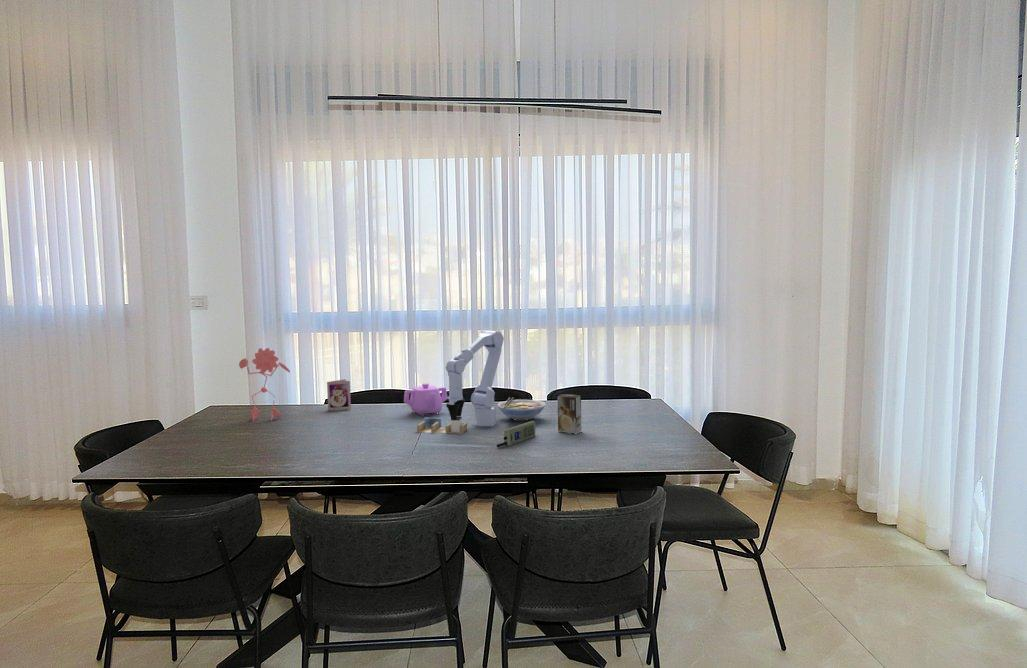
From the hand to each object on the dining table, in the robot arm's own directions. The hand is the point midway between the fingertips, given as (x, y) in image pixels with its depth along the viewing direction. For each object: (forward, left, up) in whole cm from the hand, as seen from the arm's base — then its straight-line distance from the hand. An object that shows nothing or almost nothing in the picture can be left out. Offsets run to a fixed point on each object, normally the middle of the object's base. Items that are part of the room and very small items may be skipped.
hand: (456, 418), depth 280 cm
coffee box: (-49, -9, -7) cm, 50 cm away
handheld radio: (-28, +11, -7) cm, 31 cm away
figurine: (+100, -18, -7) cm, 102 cm away
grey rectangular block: (0, 0, -6) cm, 6 cm away
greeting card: (+75, -44, -7) cm, 88 cm away
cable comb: (+6, -2, -7) cm, 9 cm away
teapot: (+26, -39, -7) cm, 48 cm away
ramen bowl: (-24, -31, -7) cm, 40 cm away
